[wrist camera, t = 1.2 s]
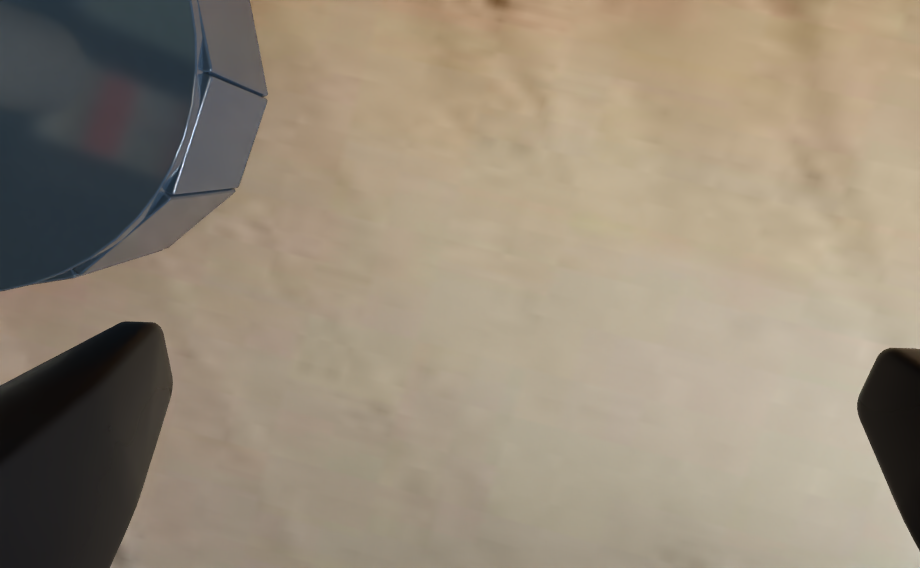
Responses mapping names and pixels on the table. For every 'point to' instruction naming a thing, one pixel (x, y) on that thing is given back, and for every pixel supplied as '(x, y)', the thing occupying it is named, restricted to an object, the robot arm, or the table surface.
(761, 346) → the table surface
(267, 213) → the table surface
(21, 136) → the cover
